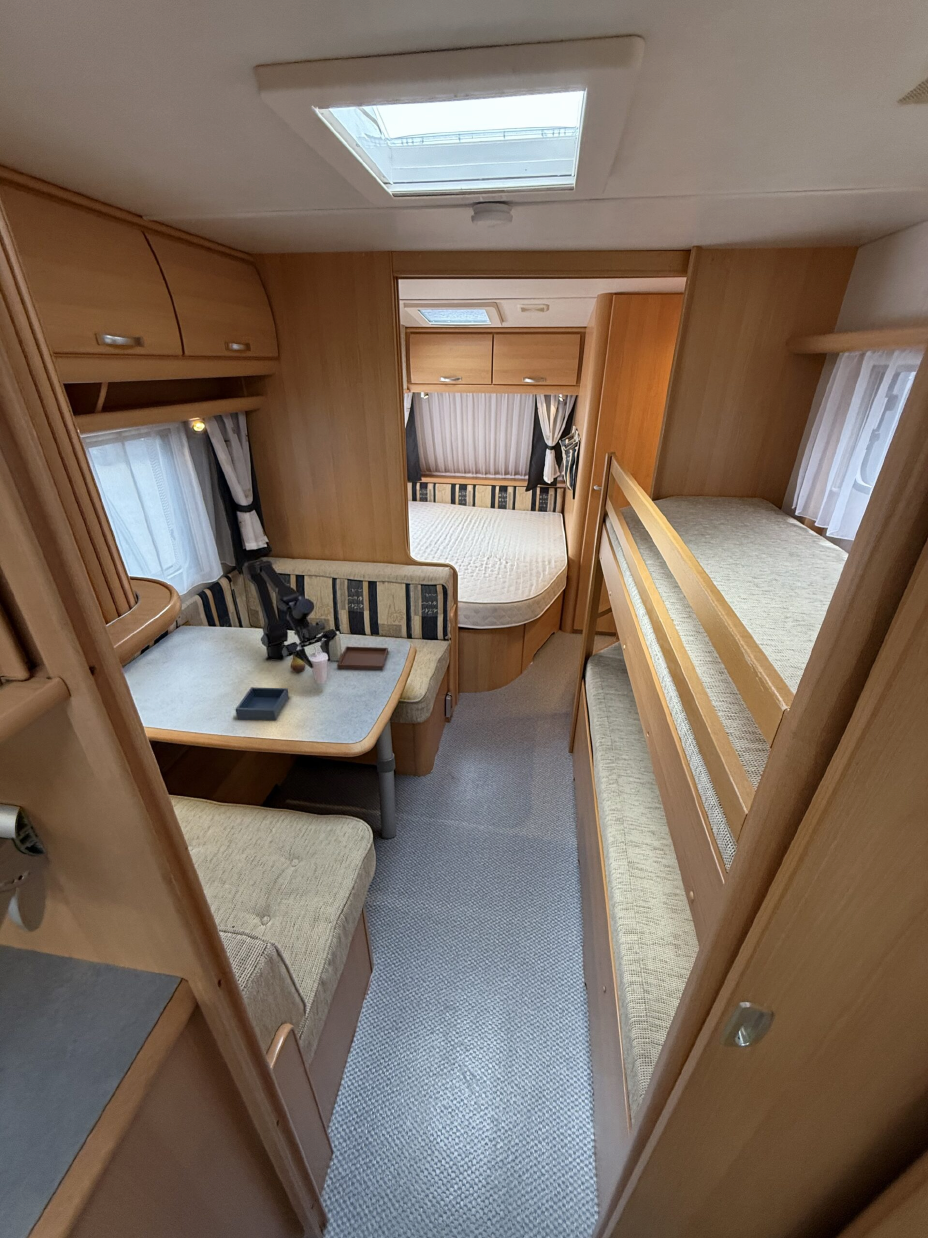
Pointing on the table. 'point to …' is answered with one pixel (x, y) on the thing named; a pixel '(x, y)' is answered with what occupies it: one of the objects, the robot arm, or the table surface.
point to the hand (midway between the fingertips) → (320, 664)
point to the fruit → (297, 664)
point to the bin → (262, 703)
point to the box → (335, 648)
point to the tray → (363, 658)
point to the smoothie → (319, 665)
